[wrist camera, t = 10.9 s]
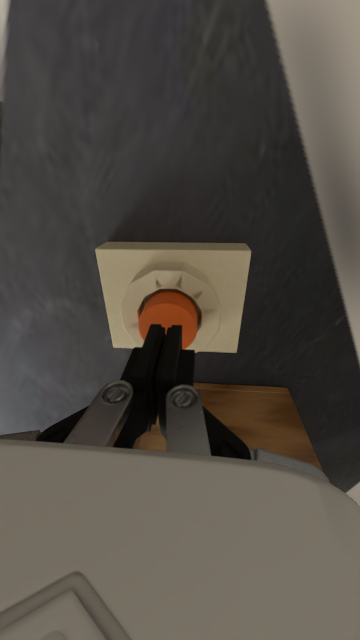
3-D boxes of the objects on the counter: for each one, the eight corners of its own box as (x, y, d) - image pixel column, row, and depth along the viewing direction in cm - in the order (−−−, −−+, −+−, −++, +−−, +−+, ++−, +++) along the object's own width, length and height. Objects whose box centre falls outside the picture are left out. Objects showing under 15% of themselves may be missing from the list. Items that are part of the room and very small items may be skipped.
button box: (121, 333, 21) (105, 362, 18) (106, 241, 17) (82, 256, 14) (233, 337, 20) (239, 368, 17) (246, 242, 16) (258, 258, 13)
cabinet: (149, 451, 30) (129, 552, 22) (140, 379, 24) (107, 483, 15) (264, 459, 29) (289, 569, 21) (287, 387, 23) (337, 503, 14)
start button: (146, 336, 17) (140, 352, 15) (141, 289, 15) (134, 301, 13) (196, 338, 16) (196, 354, 15) (198, 291, 15) (198, 303, 13)
